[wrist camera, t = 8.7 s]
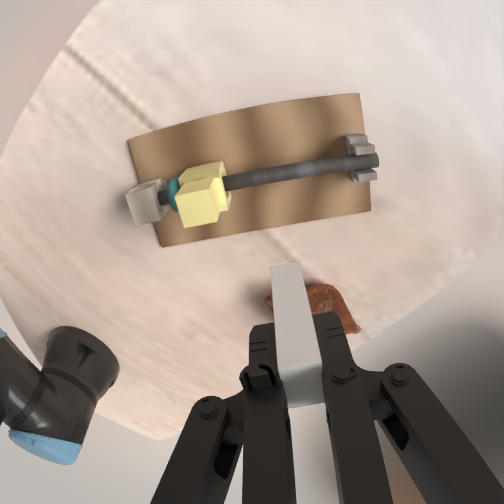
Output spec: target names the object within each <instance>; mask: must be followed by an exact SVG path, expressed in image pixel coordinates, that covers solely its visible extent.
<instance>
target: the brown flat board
mask: <svg viewBox="0 0 504 504" xmlns="http://www.w3.org/2000/svg"><path fill="white" fill-rule="evenodd" d="M128 143H129V147H130V150H131V153H132V157H133V160H134V164H135V167H136V170H137V174H138V177H139V180H140V183H141V184H138V185H136V186H135V187H134V188H132V189H131V190H130V191H129V192H128V193H127V194H125V197H126V200H127V203H128V205H129V208H130V211H131V214H132V217H133V220H134V222H135V225H136V226H138V225H142V224H147V223H151V222H153V223H154V225H155V228H156V231H157V234H158V237H159V240H160V242H161V245H162V248H163V247H168V246H173V245H179V244H184V243H189V242H194V241H200V240H205V239H210V238H216V237H221V236H227V235H232V234H238V233H243V232H249V231H255V230H260V229H266V228H272V227H277V226H283V225H289V224H295V223H301V222H307V221H312V220H318V219H324V218H330V217H337V216H343V215H349V214H355V213H361V212H368V211H371V200H370V183H369V181H372V180H377V172H376V171H374V170H373V169H371V168H376V167H378V166H379V158H378V155H377V153H376V152H375V147H374V145H372V144H370V143H368V141H367V136H366V135H365V130H364V122H363V115H362V108H361V101H360V94H359V93H357V94H344V95H333V96H324V97H315V98H307V99H300V100H292V101H286V102H279V103H273V104H267V105H262V106H256V107H251V108H246V109H241V110H236V111H231V112H227V113H222V114H218V115H214V116H209V117H205V118H201V119H197V120H193V121H189V122H186V123H182V124H178V125H175V126H171V127H168V128H164V129H161V130H158V131H154V132H151V133H148V134H145V135H142V136H139V137H135V138H132V139H130V140H128ZM221 160H223V163H224V167H225V171H226V175H227V176H223V177H222V181H223V185H224V189H225V192H227V191H230V192H231V196H232V197H231V201H230V205H229V210H227V211H222V212H220V214H219V217H218V221H217V222H214V223H208V224H203V225H198V226H193V227H188V228H184V226H183V223H182V220H181V217H180V213H179V210H178V207H177V204H176V200H175V197H174V196H175V195H176V194H177V192H178V191H179V190H180V188H181V187H180V184H179V180H178V178H179V177H180V176H181V175H182V173H183V172H184V171H185V170H186V169H187V168H190V167H195V166H199V165H203V164H207V163H212V162H216V161H221Z"/></svg>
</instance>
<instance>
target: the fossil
mask: <svg viewBox="0 0 504 504" xmlns="http://www.w3.org/2000/svg"><path fill="white" fill-rule="evenodd" d="M305 288H306V292H307V297H308V301H309V305H310V310H311V314H312V315H314V314H319V313H325V312H330V311H333V312H335V313H336V314H337V315H338V316H339V317H340V319H341V323H342V326H343V329H344V332H345V334H350V333H359V332H360V330H361V328H360V326H358V325H357V324H356V323H355V321H354V319H353V318H352V316H351V314H350V312H349V310H348V308H347V306H346V304H345V302H344V300H343V298H342V296H341V294H340V292H339V291H338V290H337V289H336V288H335V287H334V286H332V285H329V284H318V285H313V286H309V287H305ZM265 302H266V303H267V305H268V306H269V308H270V310H271V311H272V312H273V314H274V310H273V297H272V296H269V297H267V298H266V299H265Z"/></svg>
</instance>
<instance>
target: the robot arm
mask: <svg viewBox="0 0 504 504" xmlns="http://www.w3.org/2000/svg"><path fill="white" fill-rule="evenodd" d="M270 273H271V285H272V297H273V310H274V323H268V324H262V325H256V326H254V327H253V329H252V331H251V332H250V334H249V365H248V366H246V367H245V368H244V369H243V370H242V372H241V373H240V377H239V379H240V382H241V384H242V386H243V390H242V391H241V392H239V393H238V394H236V395H234V396H231V397H229V398H226V399H223V400H222V399H221V398H219V397H216V396H207V397H204V398H201V399H200V400H198V401H197V402H196V403H195V404H194V406H193V407H192V409H191V412H190V414H189V416H188V419H187V421H186V423H185V426H184V428H183V430H182V432H181V435H180V437H179V439H178V442H177V444H176V446H175V449H174V451H173V453H172V455H171V457H170V460H169V462H168V464H167V467H166V469H165V471H164V473H163V476H162V478H161V480H160V482H159V485H158V487H157V489H156V491H155V494H154V496H153V498H152V501H151V503H150V504H224V501H225V498H226V495H227V492H228V489H229V486H230V483H231V480H232V477H233V474H234V471H235V468H236V465H237V461H238V458H239V455H240V452H241V449H242V446H243V487H242V504H297V503H296V489H295V475H294V462H293V449H292V437H291V425H290V418H289V414H288V408H295V407H301V406H307V405H312V404H318V403H324V402H325V405H326V416H327V423H328V427H329V433H330V439H331V445H332V452H333V459H334V466H335V473H336V480H337V487H338V495H339V501H340V504H393V501H392V496H391V491H390V487H389V482H388V477H387V473H386V469H385V464H384V460H383V456H382V452H381V448H380V443H379V439H378V436H377V432H376V428H375V424H374V420H377V421H378V423H379V425H380V426H381V428H382V430H383V431H384V433H385V435H386V436H387V438H388V440H389V441H390V443H391V445H392V446H393V448H394V449H395V451H396V453H397V454H398V456H399V458H400V459H401V461H402V463H403V464H404V466H405V468H406V469H407V471H408V473H409V474H410V476H411V478H412V479H413V481H414V483H415V485H416V486H417V488H418V489H419V491H420V493H421V495H422V496H423V498H424V500H425V501H426V503H427V504H504V489H503V487H502V486H501V485H500V483H499V481H498V480H497V479H496V477H495V476H494V474H493V473H492V471H491V470H490V468H489V467H488V466H487V464H486V463H485V461H484V460H483V458H482V457H481V456H480V454H479V453H478V452H477V450H476V449H475V448H474V446H473V445H472V443H471V442H470V441H469V439H468V438H467V436H466V435H465V434H464V432H463V431H462V430H461V428H460V427H459V426H458V424H457V423H456V422H455V420H454V419H453V418H452V417H451V415H450V414H449V413H448V411H447V410H446V409H445V407H444V406H443V405H442V404H441V402H440V401H439V400H438V398H437V397H436V396H435V395H434V393H433V392H432V391H431V390H430V388H429V387H428V386H427V384H426V383H425V382H424V381H423V379H422V378H421V377H420V376H419V374H418V373H417V372H416V371H415V369H413V368H412V367H411V366H410V365H407V364H404V363H396V364H393V365H390V366H389V367H387V368H386V369H385V370H384V372H376V371H367V370H364V369H361V368H360V367H358V366H357V365H356V364H355V362H354V360H353V358H352V354H351V351H350V348H349V345H348V341H347V338H346V335H345V332H344V329H343V326H342V323H341V319H340V317H339V316H338V315H337V314H336V313H335V312H333V311H330V312H325V313H319V314H314V315H312V314H311V310H310V305H309V301H308V297H307V292H306V288H305V284H304V280H303V276H302V271H301V267H300V263H299V262H296V263H291V264H285V265H280V266H275V267H270ZM118 374H119V363H118V361H117V359H116V357H115V356H114V354H113V353H112V352H111V350H110V349H109V348H108V347H107V346H106V345H105V344H104V343H102V342H101V341H100V340H98V339H97V338H96V337H94V336H92V335H91V334H89V333H87V332H85V331H83V330H80V329H77V328H73V327H60V328H57V329H56V330H55V331H54V332H53V333H52V335H51V336H50V338H49V340H48V342H47V350H46V354H45V359H44V364H43V368H42V370H41V372H40V371H39V369H38V368H37V367H36V366H35V365H34V364H33V363H31V361H30V360H29V359H28V358H27V357H26V356H24V354H23V353H22V352H21V351H20V350H19V349H18V348H17V346H16V345H15V344H14V343H13V342H12V341H11V340H10V338H9V337H8V336H7V333H5V332H3V331H2V329H1V328H0V425H1V423H2V421H3V422H4V423H5V424H6V425H8V426H9V427H10V430H9V438H10V439H11V440H12V441H13V442H14V443H15V444H17V445H18V446H20V447H21V448H23V449H25V450H26V451H28V452H30V453H32V454H34V455H36V456H38V457H41V458H43V459H45V460H48V461H51V462H54V463H57V464H62V465H71V464H73V463H74V462H75V461H76V459H77V457H78V454H79V452H80V450H81V448H82V447H83V446H82V444H83V441H84V438H85V435H86V432H87V429H88V427H89V424H90V420H91V418H92V415H93V413H94V410H95V407H96V405H97V402H98V400H99V399H100V398H101V397H102V396H103V395H104V394H105V393H106V392H107V390H108V389H109V388H110V387H111V386H113V384H114V383H115V381H116V379H117V376H118Z"/></svg>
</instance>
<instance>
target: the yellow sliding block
mask: <svg viewBox="0 0 504 504" xmlns="http://www.w3.org/2000/svg"><path fill="white" fill-rule="evenodd" d="M223 176H227V175H226V171H225V167H224V163H223V160H221V161H216V162H212V163H207V164H203V165H199V166H195V167H190V168H187V169H186V170H185V171H184V172H183V173H182V175H181V176H180V177H179V178H178V180H179V184H180V187H181V188H180V190H179V191H178V192H177V194H176V195H175V196H174V197H175V200H176V204H177V207H178V210H179V213H180V217H181V220H182V223H183V226H184V228H188V227H193V226H198V225H203V224H208V223H214V222H217V221H218V217H219V214H220V212H222V211H227V210H229V205H230V201H231V197H232V196H231V192H230V191H227V192H225V189H224V185H223V181H222V177H223Z"/></svg>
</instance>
